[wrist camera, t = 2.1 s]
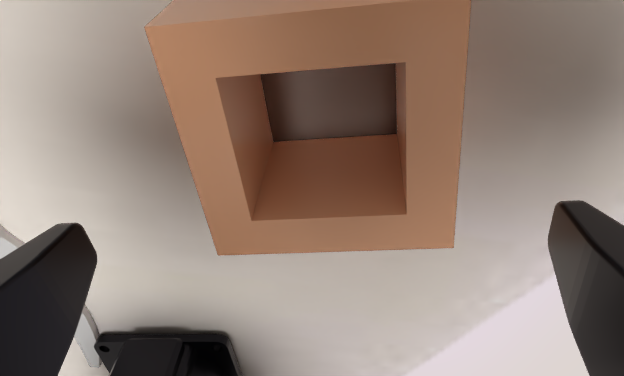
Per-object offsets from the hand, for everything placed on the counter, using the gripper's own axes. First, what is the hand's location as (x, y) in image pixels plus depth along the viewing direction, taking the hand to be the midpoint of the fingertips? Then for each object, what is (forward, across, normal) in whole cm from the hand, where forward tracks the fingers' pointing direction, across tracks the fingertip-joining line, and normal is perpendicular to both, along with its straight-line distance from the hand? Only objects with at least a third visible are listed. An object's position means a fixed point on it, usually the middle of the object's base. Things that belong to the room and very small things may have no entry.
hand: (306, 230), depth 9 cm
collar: (+7, 0, 0) cm, 7 cm away
